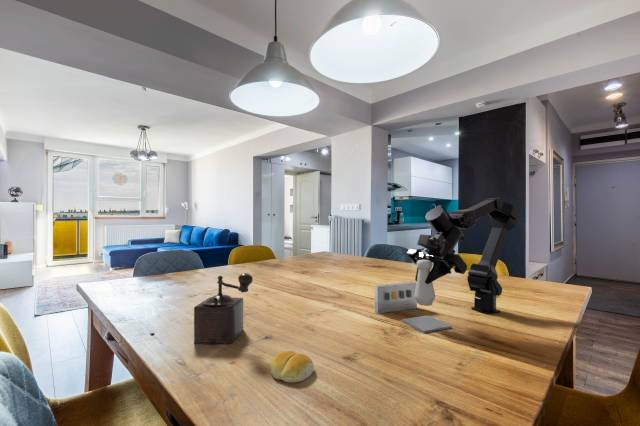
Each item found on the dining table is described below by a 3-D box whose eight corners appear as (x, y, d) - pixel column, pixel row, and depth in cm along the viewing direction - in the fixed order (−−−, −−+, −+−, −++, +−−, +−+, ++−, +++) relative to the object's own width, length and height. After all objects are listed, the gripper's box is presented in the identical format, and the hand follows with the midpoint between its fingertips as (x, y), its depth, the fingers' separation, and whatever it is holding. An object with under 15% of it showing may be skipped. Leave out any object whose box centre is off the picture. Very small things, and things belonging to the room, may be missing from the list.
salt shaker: (432, 307, 86) (431, 262, 86) (412, 304, 89) (411, 260, 89) (437, 302, 90) (436, 259, 91) (418, 299, 94) (417, 258, 94)
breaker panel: (413, 306, 108) (413, 281, 108) (418, 308, 106) (418, 283, 106) (374, 311, 103) (374, 285, 103) (379, 314, 100) (378, 287, 100)
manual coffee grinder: (191, 344, 77) (190, 274, 77) (209, 328, 88) (209, 267, 89) (250, 345, 77) (250, 275, 77) (261, 329, 88) (261, 267, 88)
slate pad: (427, 317, 97) (427, 315, 97) (451, 328, 88) (451, 326, 88) (401, 321, 93) (401, 319, 93) (423, 333, 84) (423, 330, 84)
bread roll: (286, 359, 70) (286, 342, 70) (319, 370, 65) (318, 351, 65) (261, 375, 63) (261, 356, 63) (295, 389, 58) (295, 368, 58)
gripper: (410, 224, 100) (384, 260, 95) (459, 225, 83) (432, 269, 78) (427, 246, 104) (404, 282, 98) (478, 252, 87) (453, 295, 82)
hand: (421, 282), depth 89 cm, fingers closed on salt shaker, 3 cm apart
